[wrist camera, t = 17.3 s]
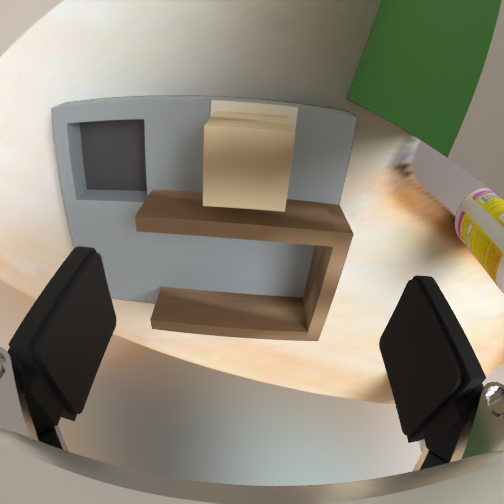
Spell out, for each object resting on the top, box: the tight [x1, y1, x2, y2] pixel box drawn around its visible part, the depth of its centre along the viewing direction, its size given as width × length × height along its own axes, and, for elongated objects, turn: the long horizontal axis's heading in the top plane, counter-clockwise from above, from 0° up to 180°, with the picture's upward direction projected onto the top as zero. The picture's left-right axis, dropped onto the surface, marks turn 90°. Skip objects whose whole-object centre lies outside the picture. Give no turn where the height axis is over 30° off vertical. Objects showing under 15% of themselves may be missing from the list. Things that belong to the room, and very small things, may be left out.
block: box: [203, 111, 296, 212], centre depth 20 cm, size 5×5×5 cm
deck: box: [51, 95, 357, 304], centre depth 27 cm, size 20×24×3 cm
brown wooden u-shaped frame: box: [135, 190, 353, 341], centre depth 26 cm, size 11×15×4 cm
